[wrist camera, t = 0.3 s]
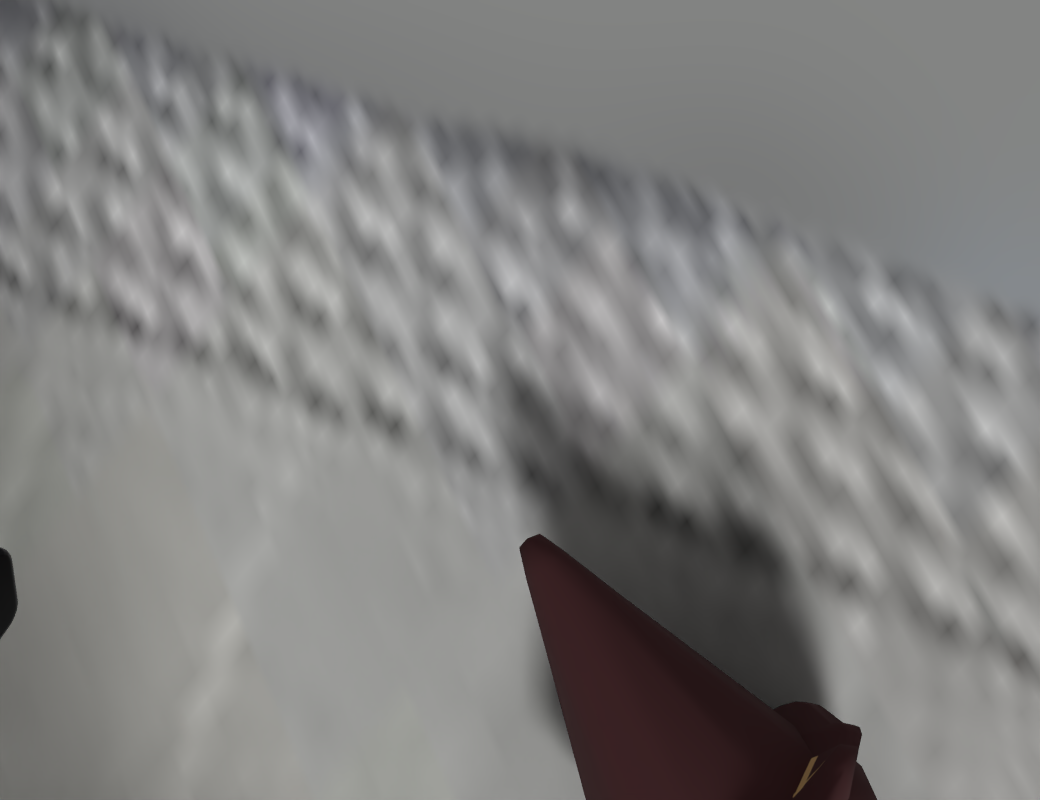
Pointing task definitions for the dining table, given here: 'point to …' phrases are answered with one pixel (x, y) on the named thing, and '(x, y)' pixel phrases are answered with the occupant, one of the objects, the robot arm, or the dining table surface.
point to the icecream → (672, 706)
